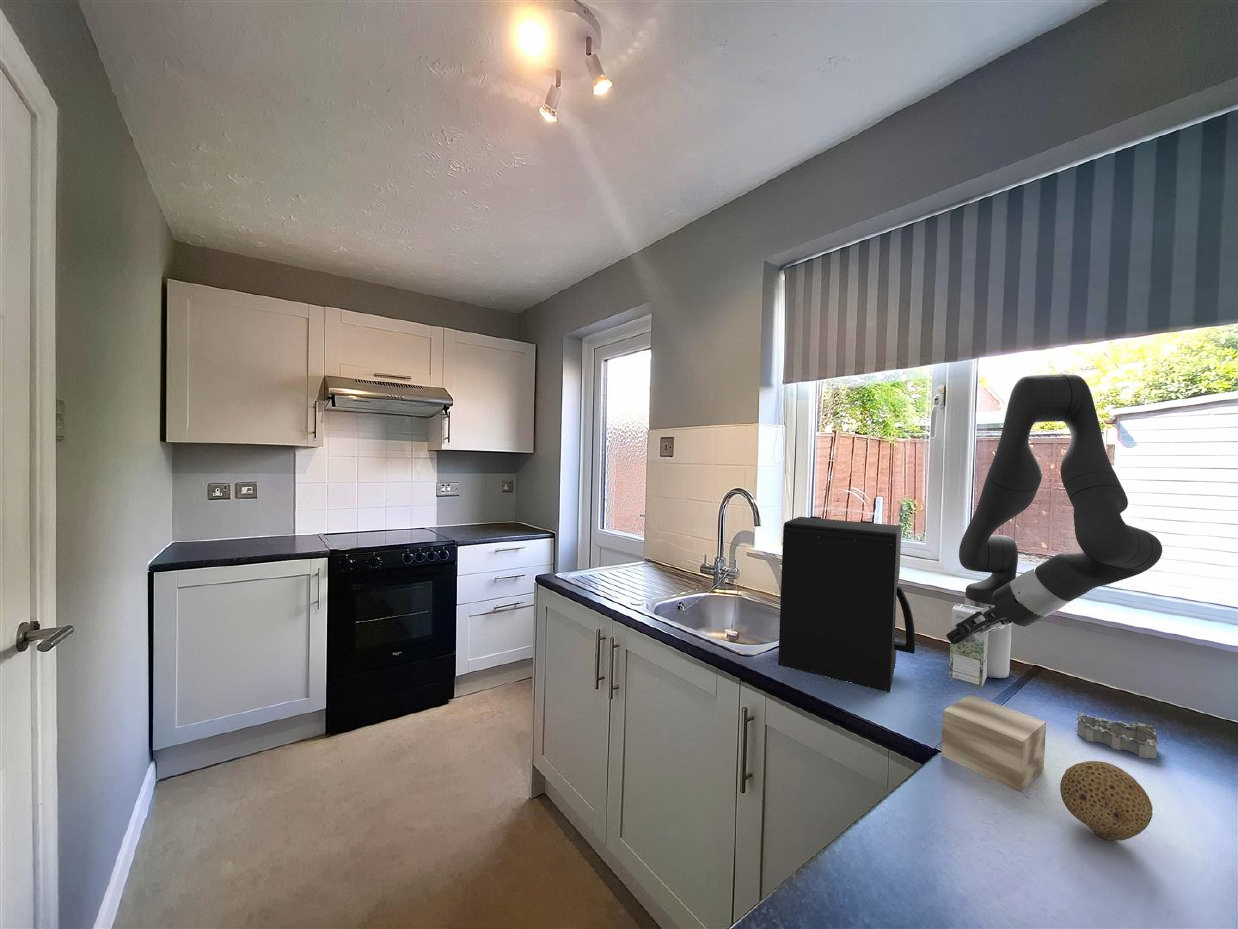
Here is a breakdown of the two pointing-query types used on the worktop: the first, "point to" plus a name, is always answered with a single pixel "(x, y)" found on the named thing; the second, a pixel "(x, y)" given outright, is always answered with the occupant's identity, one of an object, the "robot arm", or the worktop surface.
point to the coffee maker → (842, 600)
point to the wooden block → (994, 741)
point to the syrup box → (968, 650)
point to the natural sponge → (1106, 799)
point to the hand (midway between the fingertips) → (961, 637)
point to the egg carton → (1119, 734)
